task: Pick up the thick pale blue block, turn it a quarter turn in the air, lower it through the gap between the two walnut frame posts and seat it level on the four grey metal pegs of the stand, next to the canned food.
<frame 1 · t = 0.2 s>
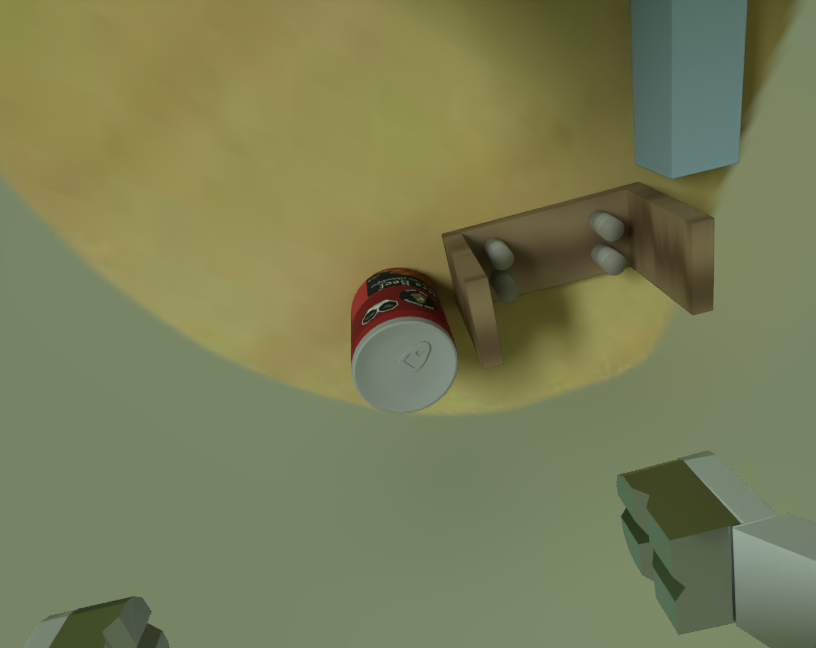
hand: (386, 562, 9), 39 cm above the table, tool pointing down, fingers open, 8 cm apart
canned food: (394, 305, 50), on the table
peg stand: (544, 246, 49), on the table
pale blue block: (663, 79, 44), on the table
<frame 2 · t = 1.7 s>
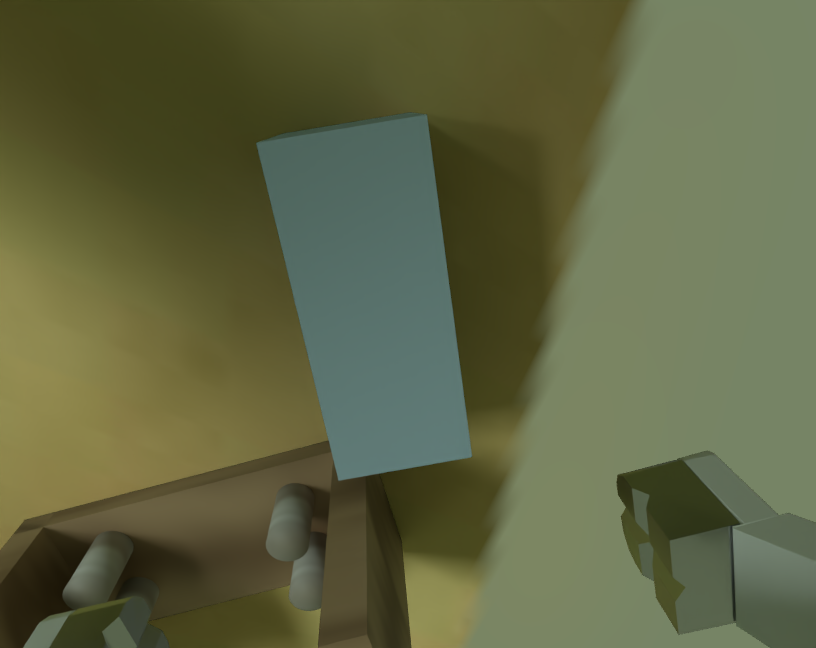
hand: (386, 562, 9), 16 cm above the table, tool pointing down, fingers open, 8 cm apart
peg stand: (220, 531, 28), on the table
pale blue block: (373, 269, 24), on the table
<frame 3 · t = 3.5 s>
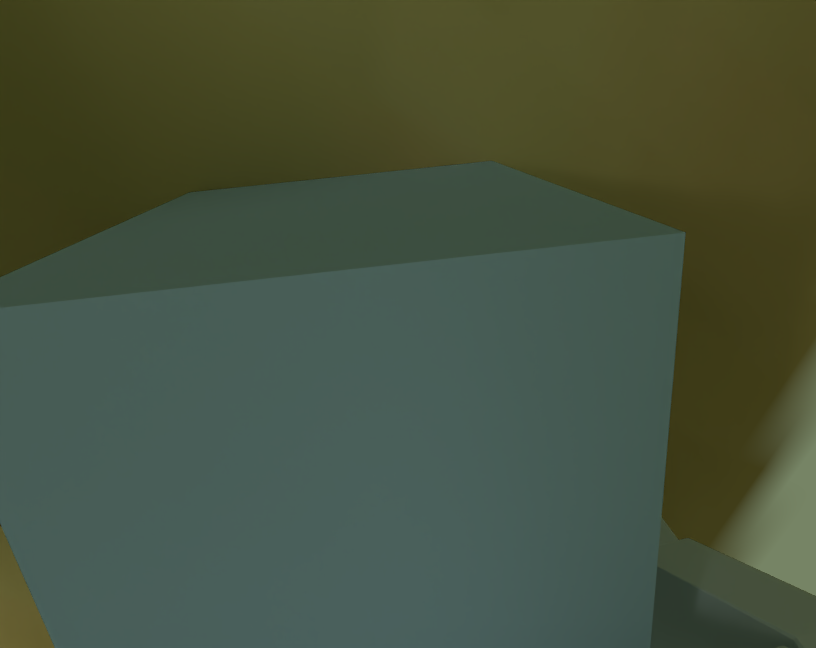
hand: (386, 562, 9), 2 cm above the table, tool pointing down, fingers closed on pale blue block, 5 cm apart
pale blue block: (382, 478, 11), on the table, touching gripper
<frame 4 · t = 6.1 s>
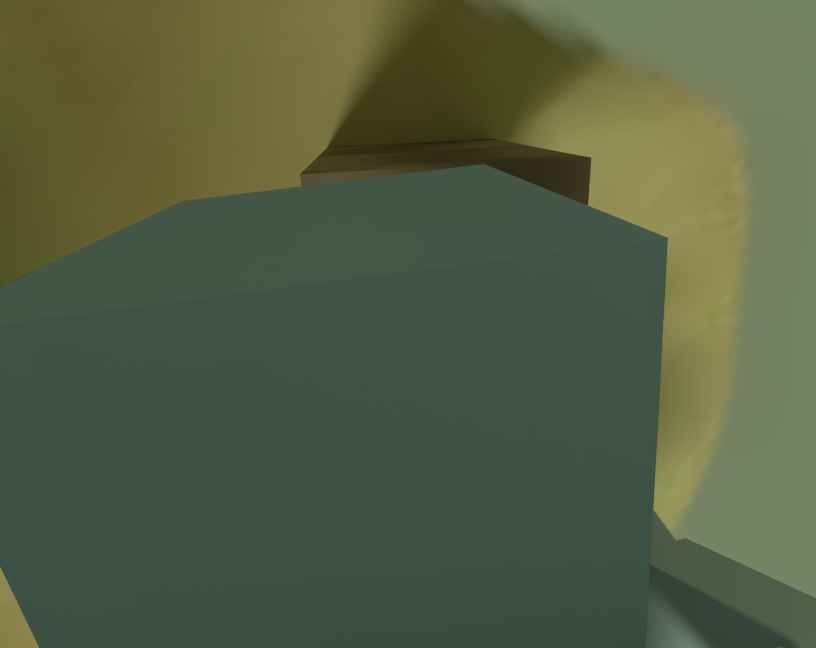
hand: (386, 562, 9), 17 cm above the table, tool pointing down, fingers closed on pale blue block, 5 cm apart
peg stand: (418, 330, 27), on the table
pale blue block: (381, 483, 11), point 15 cm above the table, touching gripper
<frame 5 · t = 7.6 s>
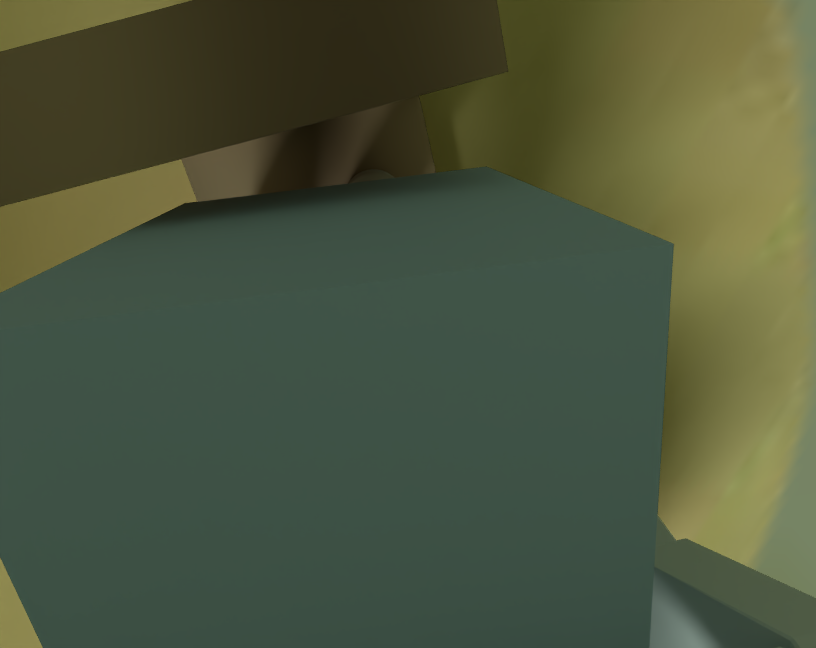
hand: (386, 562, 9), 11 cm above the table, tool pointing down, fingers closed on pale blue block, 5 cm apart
peg stand: (365, 334, 19), on the table
pale blue block: (382, 485, 11), point 9 cm above the table, touching gripper
when the fingers open (7 cm above the table, at t = 8.7 s): pale blue block drops 1 cm, resting on peg stand.
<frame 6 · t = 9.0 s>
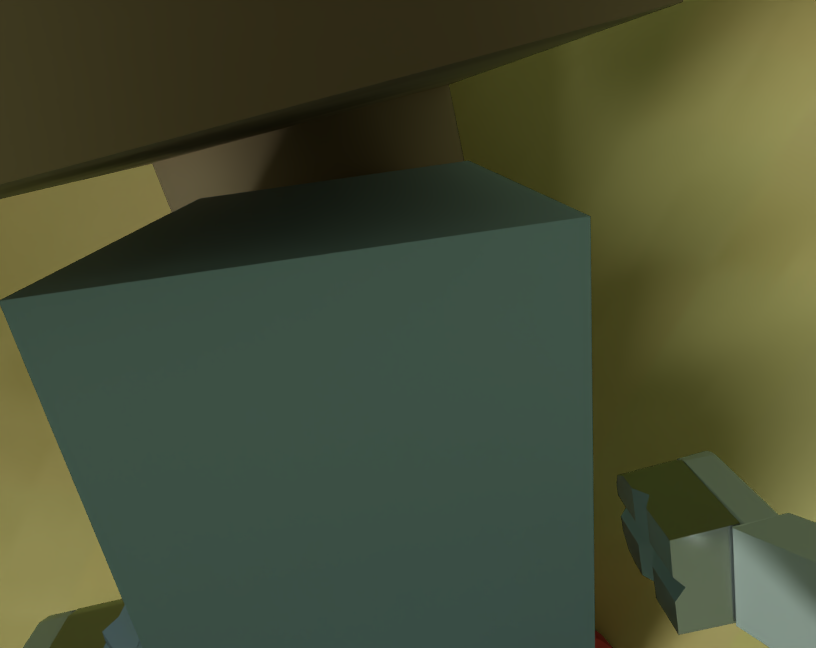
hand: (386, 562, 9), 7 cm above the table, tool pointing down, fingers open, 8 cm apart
peg stand: (378, 372, 16), on the table
pale blue block: (381, 453, 12), point 4 cm above the table, touching peg stand
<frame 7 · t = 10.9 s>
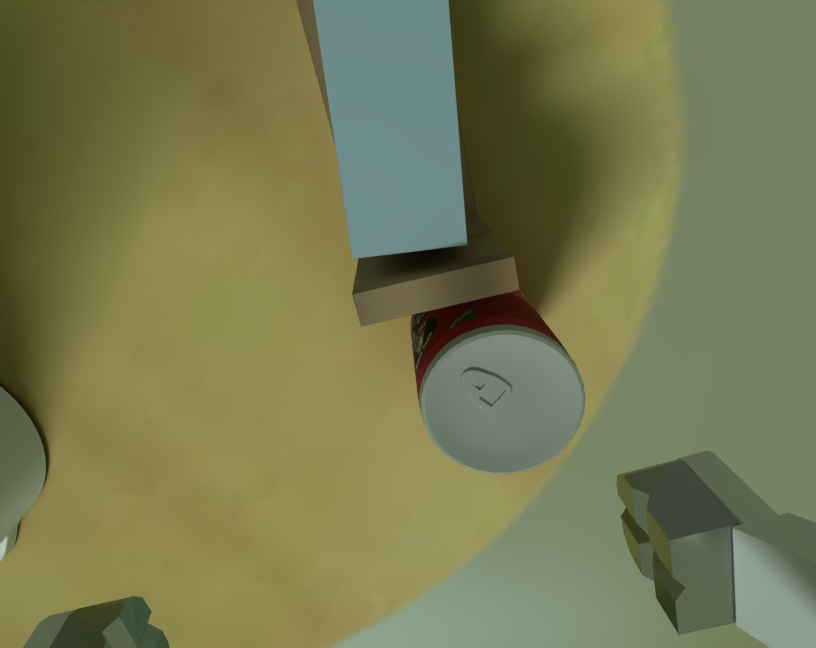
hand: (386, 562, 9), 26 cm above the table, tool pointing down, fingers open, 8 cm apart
canned food: (469, 322, 36), on the table
peg stand: (390, 105, 31), on the table
pale blue block: (391, 105, 28), point 4 cm above the table, touching peg stand
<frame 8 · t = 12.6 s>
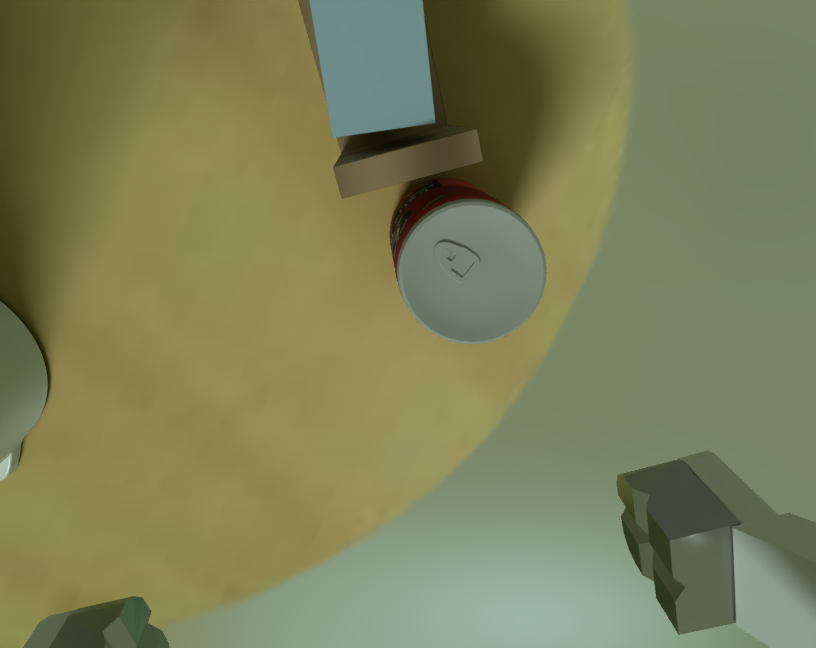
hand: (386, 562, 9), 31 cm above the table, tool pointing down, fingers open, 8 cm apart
canned food: (444, 233, 39), on the table
peg stand: (364, 21, 34), on the table
pale blue block: (364, 11, 30), point 4 cm above the table, touching peg stand
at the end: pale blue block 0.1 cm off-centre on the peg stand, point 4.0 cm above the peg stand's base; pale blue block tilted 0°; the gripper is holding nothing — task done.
